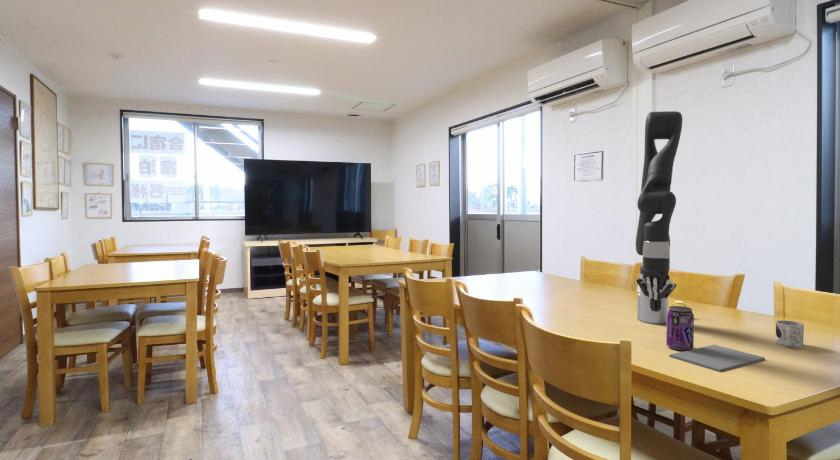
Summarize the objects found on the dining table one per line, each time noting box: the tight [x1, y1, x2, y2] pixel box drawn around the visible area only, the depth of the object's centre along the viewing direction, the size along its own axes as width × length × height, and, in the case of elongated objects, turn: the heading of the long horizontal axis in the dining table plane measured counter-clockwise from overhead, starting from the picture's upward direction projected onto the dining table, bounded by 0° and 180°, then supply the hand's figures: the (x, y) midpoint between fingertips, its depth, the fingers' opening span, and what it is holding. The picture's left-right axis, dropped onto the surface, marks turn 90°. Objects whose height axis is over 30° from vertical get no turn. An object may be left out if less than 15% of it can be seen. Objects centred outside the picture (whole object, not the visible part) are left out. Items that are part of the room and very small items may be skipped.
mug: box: [775, 319, 805, 349], centre depth 144 cm, size 10×7×7 cm
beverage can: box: [665, 305, 695, 351], centre depth 143 cm, size 7×7×12 cm
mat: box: [669, 344, 766, 373], centre depth 133 cm, size 14×20×1 cm
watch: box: [670, 300, 688, 307], centre depth 182 cm, size 6×3×6 cm, turn 53°
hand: (655, 311), depth 150 cm, fingers closed
